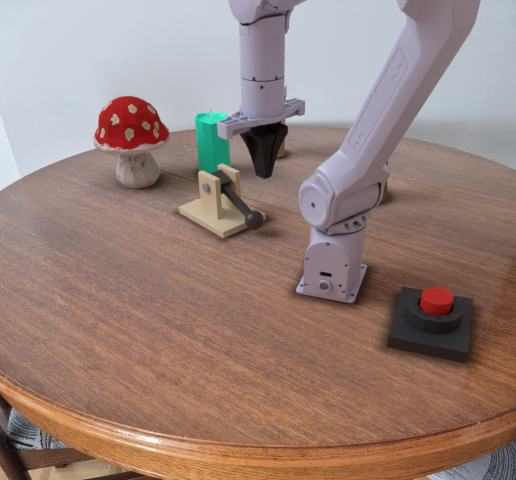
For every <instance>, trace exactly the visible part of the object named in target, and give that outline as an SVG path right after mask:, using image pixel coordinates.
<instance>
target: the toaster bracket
mask: <svg viewBox="0 0 516 480" xmlns="http://www.w3.org/2000/svg"><path fill="white" fill-rule="evenodd" d="M220 169H221V170H222V171H223V172H224V173H225V174H226V175H227V176H228V177H229V178H230V179H231V184H230V188H231V189H232V190H233V191H234V192H235V193H236V194H237V195H238V196H239V197H240V198H241V199H242V193H241V192H242V191H241V171H240V170H238V169H236V168H233V167H231V166H230V167H229V166H227V165H225V164H223V163H222V164H219V165H218V170H220ZM197 179H198V188H199V198H197V199H193V200H192V201H189V202H186V203H184V204H181V205H179V206H178V213H179V214H181V215H182V216H184V217H185V218H187V219H189V220H191V221H192V222H194V223H196V224H197V225H200V226H201V227H203V228H205V229H207V230H208V231H210V232H212V233H213V234H215V235H217V236H218V237H220V238H222V239H225V238H227V237H228V238H229V237H230V236H232V235H234V234H236V233H239V232H241V231H243V230H246V229H249V228H248V227H247V226H246V224H245V216H244V215H243V214H242V213H241V212H240V211H239V210H238V209H237V207H236V206H235V205H234V204H233V203H232V202H231V201H230V200H229V199H228V198H227V197H226V196H225V194H221V186H220V178H217V177H215V176H213V175H211V174H209V173H207V172H205V171H203V170H202V171H200V172H199V171H198V172H197ZM245 204H246V205H247V206H248V207H249V208H250V209H251V210H257V211H259V212H261V213H262V215H263V217H264V221H266V218H267V214H266V213H265V212H264V211H261V210H259V209H257V208H255V207H253V206H252V205H249V204H248V203H245Z"/></svg>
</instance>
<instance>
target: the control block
mask: <svg viewBox="0 0 516 480" xmlns="http://www.w3.org/2000/svg"><path fill="white" fill-rule="evenodd" d="M424 290H425V289H421V288H415V287H409V286H404V285H403V286H401V289H400V293H399V296H398V299H397V304H396V308H395V311H394V314H393V318H392V322H391V326H390V329H389V332H388V333H389V334H388V336H387V337H388V338H387V342H386V348H390V349H396V350H399V351H404V352H409V353H415V354H419V355H423V356H428V357H434V358H438V359H443V360H447V361H452V362H456V363H457V362H458V363H462V364H465V363H466V361H467V357H468V354H469V350H470V349H469V348H470V339H471V337H470V336H471V327H472V318H473V316H472V315H473V308H474V307H473V306H474V298H471V297H466V296H460V295H454V294H452V295H453V302H452V306H451V310H450V312H449V313H448V314H447V315H441V316H437V315H431V314H428V313H426V312H424V311H422V309H421V308H420V301H421V297H422V293H423V291H424Z"/></svg>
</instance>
